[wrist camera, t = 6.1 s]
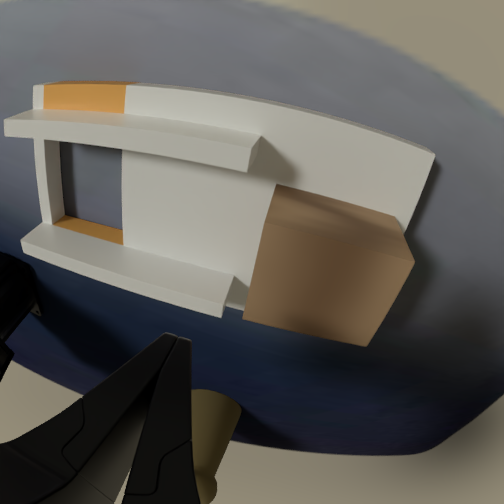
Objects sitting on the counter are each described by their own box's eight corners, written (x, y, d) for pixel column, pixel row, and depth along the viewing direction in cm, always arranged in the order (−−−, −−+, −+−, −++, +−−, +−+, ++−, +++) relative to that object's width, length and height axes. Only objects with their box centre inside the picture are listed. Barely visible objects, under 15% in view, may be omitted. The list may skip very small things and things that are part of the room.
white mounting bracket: (59, 240, 21) (28, 270, 18) (49, 81, 15) (3, 93, 11) (350, 319, 20) (353, 366, 17) (425, 146, 14) (456, 172, 10)
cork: (244, 422, 31) (222, 514, 22) (190, 414, 32) (161, 500, 23) (238, 394, 28) (210, 502, 18) (177, 384, 29) (139, 483, 20)
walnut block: (256, 268, 18) (242, 318, 14) (276, 183, 15) (264, 222, 11) (360, 293, 17) (366, 346, 14) (394, 216, 15) (414, 262, 11)
